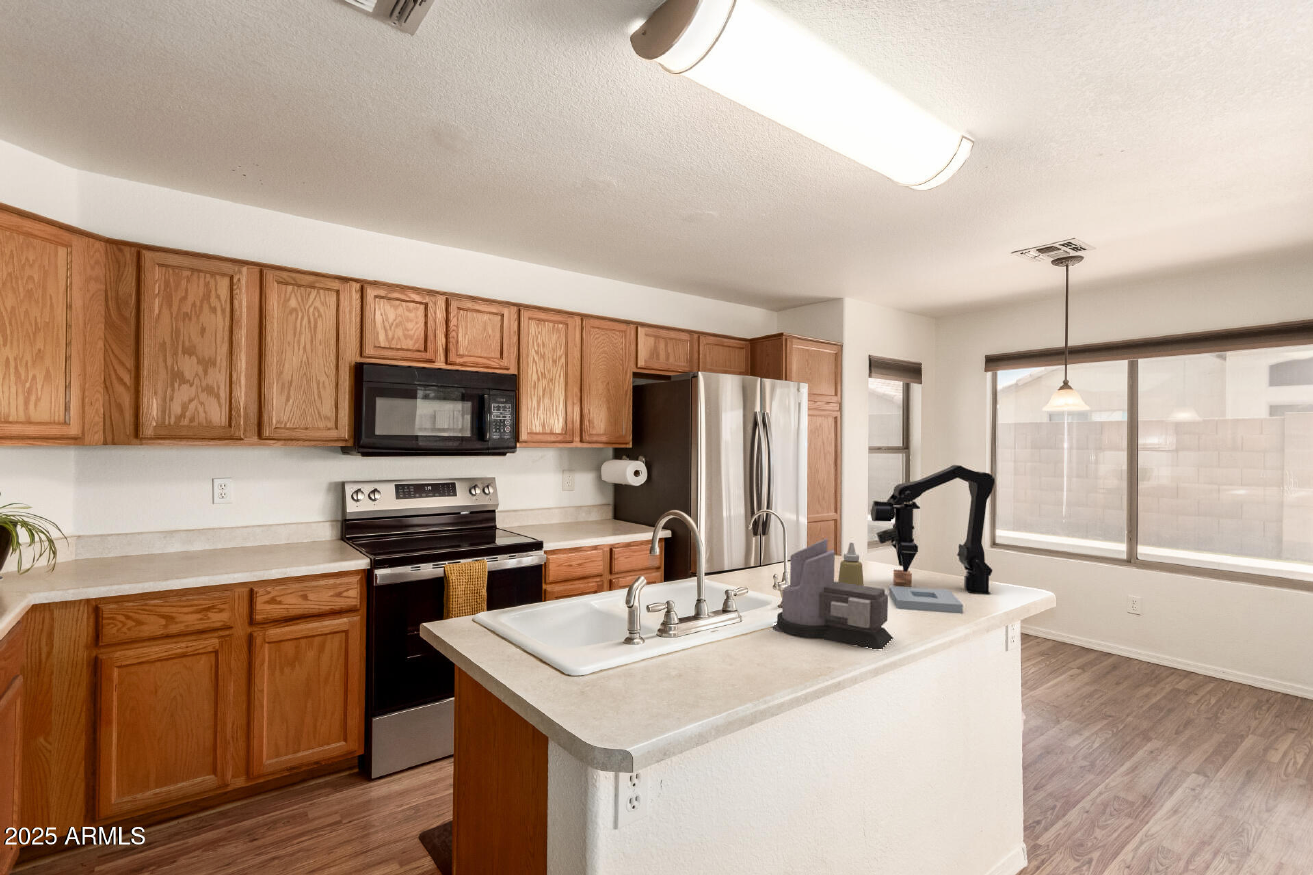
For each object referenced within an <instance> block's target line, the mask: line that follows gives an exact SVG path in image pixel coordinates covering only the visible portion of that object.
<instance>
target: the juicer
mask: <svg viewBox="0 0 1313 875" xmlns="http://www.w3.org/2000/svg"><path fill="white" fill-rule="evenodd" d="M828 540H829V539H828V538H825V539H822V540H820V541H818V542H815V543H813V544H811V545H809V546H807V547H805V548H802V549H800V550H798V551H796V552H794V553H793V554H791V555H790V557H789V558H790V559H789V561H790V565H789V566H790V570H789V572H790V574H789V585H786V586H785V587H784V588H783V589H782V601H781V604H782V605H781V606H782V609H781V610H782V611H780V612H778V613H777V616H776V619H777V620H776V622H777V624H776V625H774V626H773V627H772V626H771V628H772V629H773V631H775V632H778V633H783V634H786V635H788V636H791V637H795V638H801V639H809V640H810V639H811V640H812V639H813V640H817V639H818V640H824V641H829V642H835V643H839V644H844V643H845V645H850V646H853V645H857V646H856V647H858V646H859V647H860V648H863V647H868V648H872V649H871V650H873V649H883V647H885V645H887V643H889V641H891V642H892V640H894V637H893V636H892V635H891V634H890V633H889V632H888V630H887V629H886V628H885V627H883V625H885V623H887V621H888V610H889V608H888V606H889V604H888V603H889V594H886V591H885V590H886V589H885V588H879V587H873V586H867V585H866V586H865V585H864V586H861V585H854V584H847V583H841V582H838V581H835V564H836V563H835V559H836V558H835V557H836V556H835V553H836V552H835V550H833V549H831V550H830V549H829V550H828ZM891 639H892V640H891ZM889 644H890V643H889ZM887 646H888V645H887ZM868 648H867V649H868ZM885 648H886V647H885ZM883 650H884V649H883Z"/></svg>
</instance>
